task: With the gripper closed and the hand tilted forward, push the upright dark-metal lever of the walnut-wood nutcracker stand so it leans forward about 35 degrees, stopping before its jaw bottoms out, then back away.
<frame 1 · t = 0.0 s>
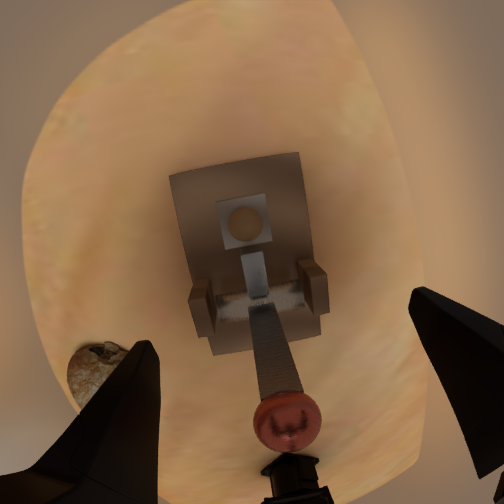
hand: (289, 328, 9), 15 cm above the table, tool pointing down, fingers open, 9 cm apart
bread roll: (117, 377, 27), on the table
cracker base: (254, 280, 25), on the table
lever: (267, 328, 15), point 10 cm above the table, hinge at 0.0°
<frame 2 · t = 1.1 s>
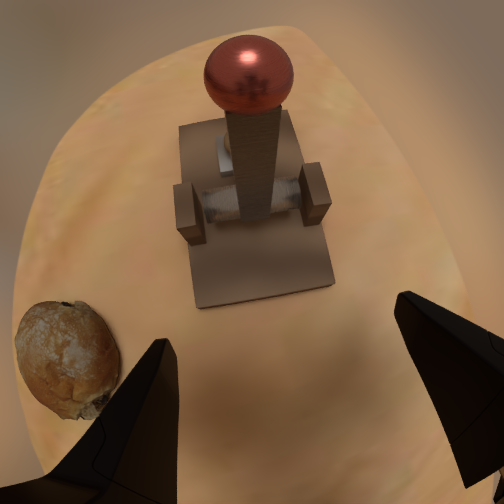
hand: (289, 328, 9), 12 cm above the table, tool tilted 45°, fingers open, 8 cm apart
bread roll: (78, 359, 20), on the table
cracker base: (252, 223, 23), on the table
lever: (245, 134, 13), point 10 cm above the table, hinge at 0.0°
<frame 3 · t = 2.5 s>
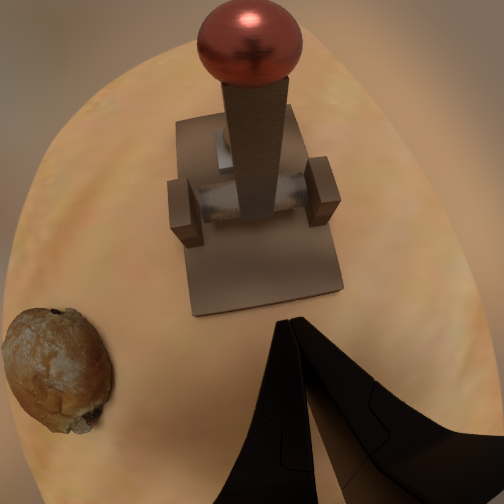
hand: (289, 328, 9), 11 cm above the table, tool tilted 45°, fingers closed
bread roll: (69, 369, 18), on the table
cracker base: (253, 223, 21), on the table
lever: (246, 121, 12), point 10 cm above the table, hinge at 0.0°
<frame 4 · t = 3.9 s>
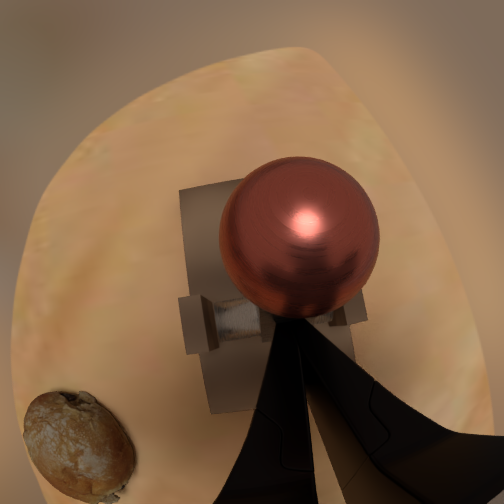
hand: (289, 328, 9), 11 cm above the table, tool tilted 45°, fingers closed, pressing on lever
bread roll: (89, 444, 17), on the table
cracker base: (269, 316, 20), on the table
lever: (273, 259, 10), point 10 cm above the table, hinge at 6.9°, touching gripper
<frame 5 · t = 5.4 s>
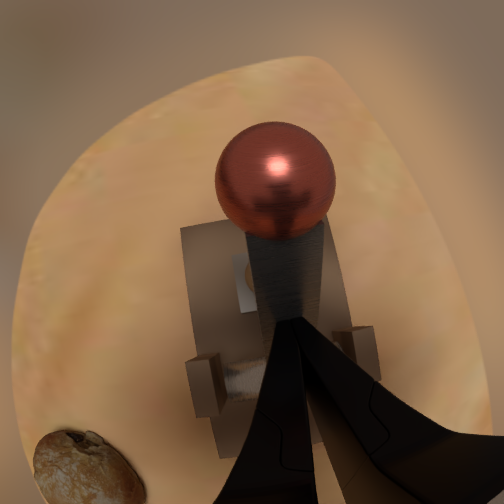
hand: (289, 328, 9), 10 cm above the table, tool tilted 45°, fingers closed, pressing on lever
bread roll: (98, 478, 16), on the table
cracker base: (278, 362, 18), on the table
lever: (276, 287, 11), point 8 cm above the table, hinge at 36.2°, touching gripper
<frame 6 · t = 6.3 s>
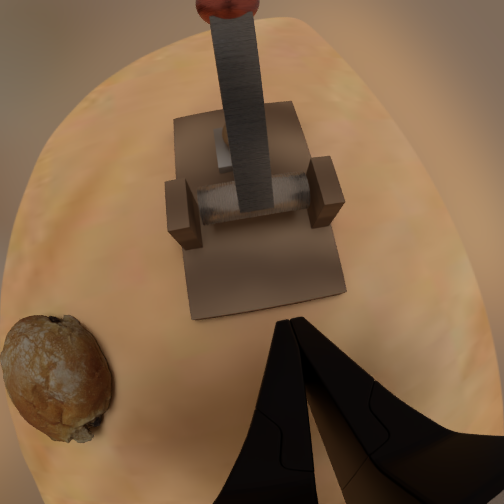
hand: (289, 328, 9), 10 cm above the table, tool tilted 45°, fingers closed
bread roll: (69, 377, 18), on the table
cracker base: (254, 224, 20), on the table
lever: (238, 98, 13), point 8 cm above the table, hinge at 36.2°
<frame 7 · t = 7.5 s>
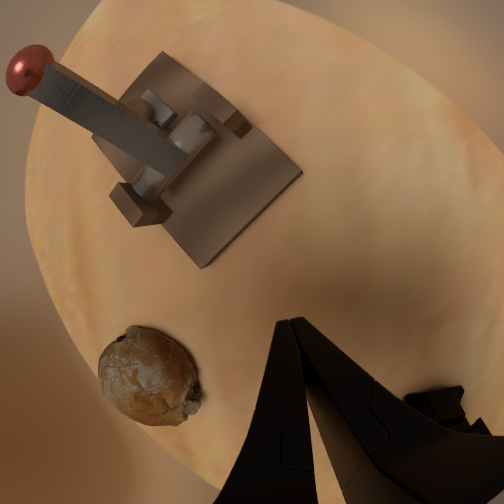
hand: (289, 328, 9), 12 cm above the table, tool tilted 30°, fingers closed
bread roll: (160, 370, 25), on the table
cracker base: (200, 165, 21), on the table
lever: (103, 106, 13), point 8 cm above the table, hinge at 36.2°
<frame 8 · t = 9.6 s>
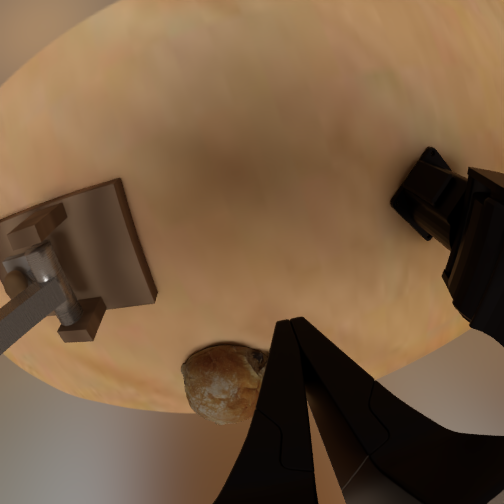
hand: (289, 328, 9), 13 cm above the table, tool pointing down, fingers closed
bread roll: (229, 368, 29), on the table
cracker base: (76, 253, 20), on the table
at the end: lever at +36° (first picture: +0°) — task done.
